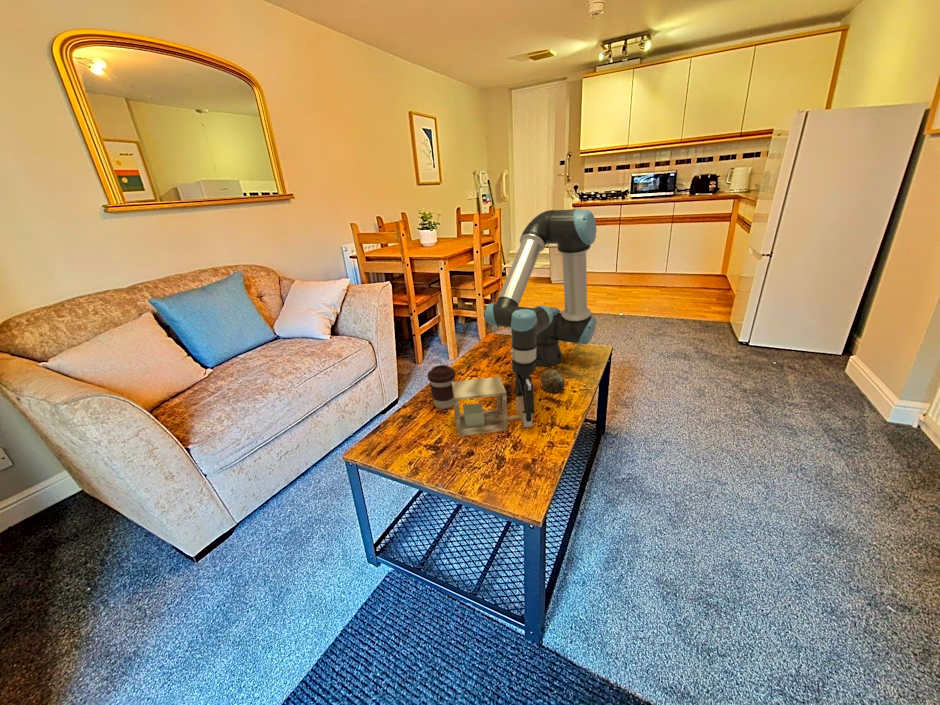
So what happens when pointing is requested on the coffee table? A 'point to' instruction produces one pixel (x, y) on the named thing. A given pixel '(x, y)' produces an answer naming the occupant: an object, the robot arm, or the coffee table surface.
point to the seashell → (552, 381)
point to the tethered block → (476, 415)
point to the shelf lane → (487, 416)
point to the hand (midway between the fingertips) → (524, 420)
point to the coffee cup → (442, 385)
